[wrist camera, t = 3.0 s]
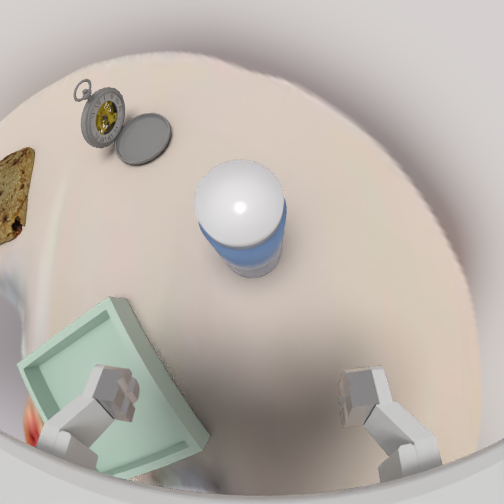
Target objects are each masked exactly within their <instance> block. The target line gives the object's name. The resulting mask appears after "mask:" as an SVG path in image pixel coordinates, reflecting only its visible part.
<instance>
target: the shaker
mask: <svg viewBox="0 0 504 504" xmlns="http://www.w3.org/2000/svg"><path fill="white" fill-rule="evenodd" d="M194 208H195V213H196V216H197V219H198V222H199V226H200V229H201V231H202V233H203V234H204V236H205V237H206V238H207V240H208V241H209V242H210V243H211V245H212V246H213V247H214V248H215V250H216V251H217V252H218V253H219V254H220V256H221V257H222V258H223V259H224V261H225V262H226V263H227V264H228V265H229V267H230V268H231V269H232V270H233V271H234V272H235V273H237V274H239V275H241V276H243V277H247V278H258V277H261V276H264V275H266V274H268V273H269V272H270V271H272V270H273V269H274V267H275V266H276V265H277V263H278V261H279V258H280V253H281V247H282V240H283V233H284V226H285V220H286V202H285V198H284V194H283V189H282V186H281V184H280V182H279V180H278V178H277V177H276V176H275V174H274V173H273V172H272V171H271V170H269V169H268V168H267V167H265V166H264V165H262V164H260V163H257V162H254V161H250V160H232V161H228V162H225V163H222V164H220V165H218V166H216V167H214V168H213V169H212V170H210V171H209V172H208V173H207V174H206V175H205V176H204V177H203V179H202V180H201V182H200V183H199V185H198V187H197V190H196V193H195V198H194Z"/></svg>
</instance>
